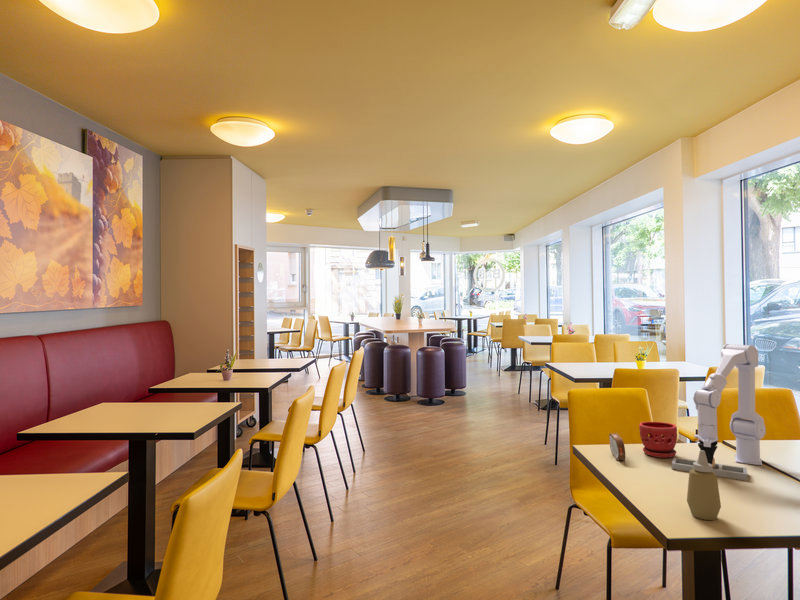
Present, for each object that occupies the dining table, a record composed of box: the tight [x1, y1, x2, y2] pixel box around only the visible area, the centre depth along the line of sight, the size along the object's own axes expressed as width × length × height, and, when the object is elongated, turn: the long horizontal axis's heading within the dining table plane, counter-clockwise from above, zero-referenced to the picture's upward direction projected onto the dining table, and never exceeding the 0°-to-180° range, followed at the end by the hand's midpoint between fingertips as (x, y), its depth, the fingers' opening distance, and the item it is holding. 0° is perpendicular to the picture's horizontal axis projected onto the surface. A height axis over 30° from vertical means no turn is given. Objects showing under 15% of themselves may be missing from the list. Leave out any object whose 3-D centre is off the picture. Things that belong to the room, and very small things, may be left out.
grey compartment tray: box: [671, 457, 748, 482], centre depth 170 cm, size 8×22×2 cm, turn 56°
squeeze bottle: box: [686, 450, 722, 521], centre depth 133 cm, size 8×8×18 cm
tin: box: [608, 432, 626, 461], centre depth 187 cm, size 15×3×8 cm, turn 168°
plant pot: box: [638, 421, 678, 459], centre depth 190 cm, size 13×13×12 cm
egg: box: [712, 456, 716, 469], centre depth 170 cm, size 4×4×4 cm
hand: (708, 462), depth 170 cm, fingers closed on egg, 4 cm apart
